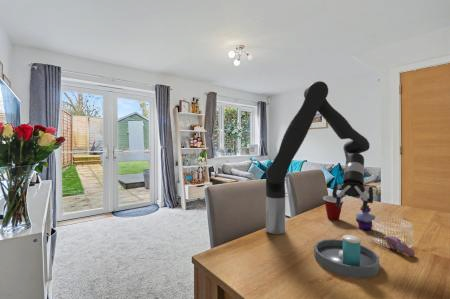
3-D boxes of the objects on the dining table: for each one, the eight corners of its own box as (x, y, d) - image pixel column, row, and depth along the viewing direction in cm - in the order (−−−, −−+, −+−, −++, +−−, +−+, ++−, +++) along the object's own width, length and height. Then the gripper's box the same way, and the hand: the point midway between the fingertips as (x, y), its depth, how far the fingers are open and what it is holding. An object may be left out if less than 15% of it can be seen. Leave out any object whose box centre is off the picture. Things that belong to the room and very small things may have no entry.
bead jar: (344, 270, 75) (345, 240, 74) (340, 261, 80) (340, 234, 80) (362, 272, 73) (363, 242, 73) (357, 263, 79) (357, 235, 78)
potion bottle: (354, 224, 118) (354, 202, 118) (373, 227, 114) (374, 204, 114) (356, 230, 110) (356, 206, 110) (376, 233, 106) (377, 208, 106)
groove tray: (320, 273, 74) (320, 263, 74) (310, 245, 95) (310, 237, 95) (391, 282, 70) (391, 271, 70) (365, 250, 90) (365, 241, 90)
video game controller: (385, 249, 94) (379, 235, 94) (394, 243, 95) (388, 229, 94) (407, 261, 85) (400, 246, 84) (416, 255, 85) (409, 240, 84)
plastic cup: (323, 220, 124) (323, 199, 123) (322, 214, 134) (322, 195, 133) (345, 223, 120) (345, 201, 119) (342, 217, 130) (343, 196, 129)
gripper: (334, 168, 97) (330, 201, 89) (374, 171, 90) (373, 207, 81) (335, 178, 102) (331, 210, 93) (373, 181, 94) (372, 217, 86)
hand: (350, 208), depth 87 cm, fingers open, 8 cm apart
